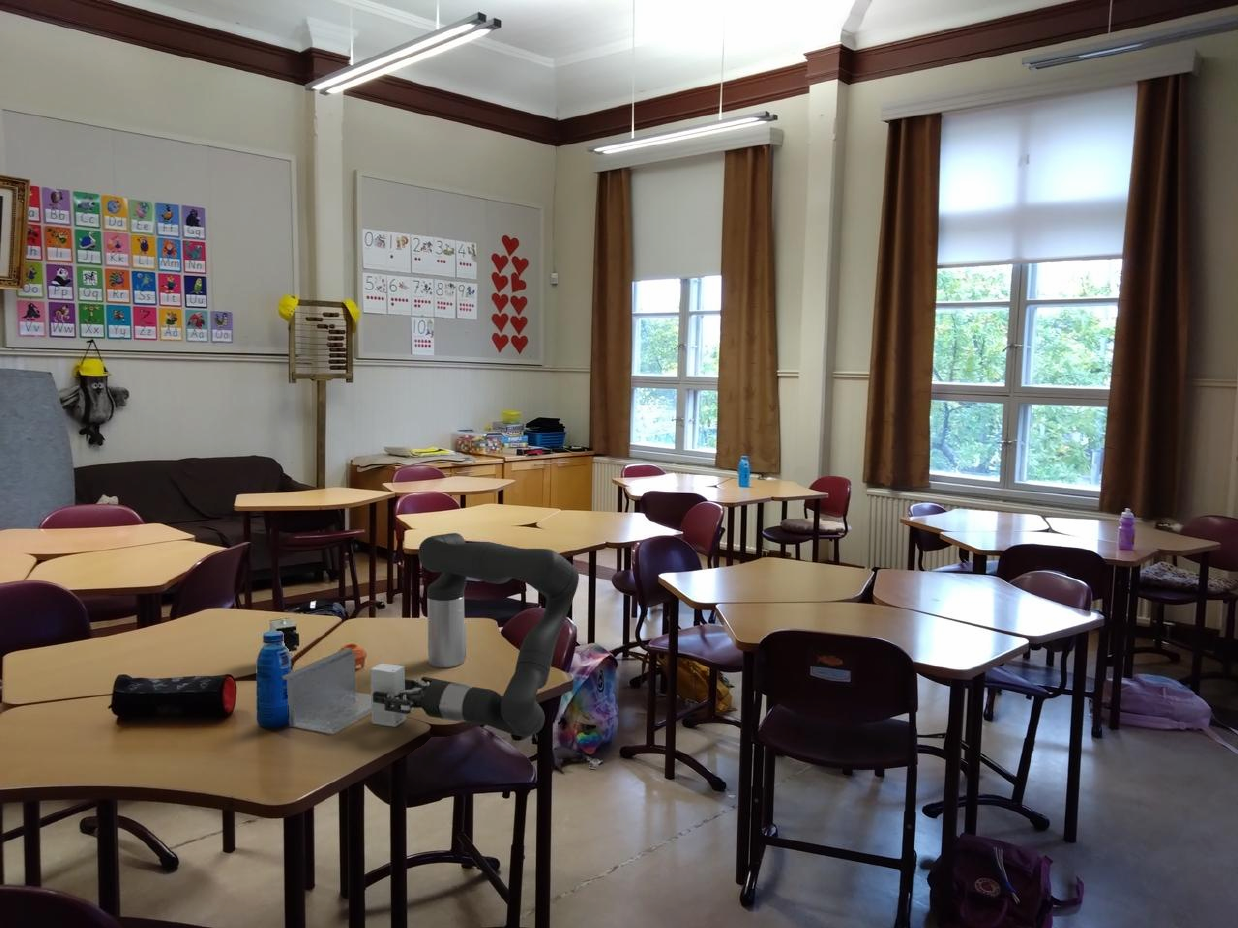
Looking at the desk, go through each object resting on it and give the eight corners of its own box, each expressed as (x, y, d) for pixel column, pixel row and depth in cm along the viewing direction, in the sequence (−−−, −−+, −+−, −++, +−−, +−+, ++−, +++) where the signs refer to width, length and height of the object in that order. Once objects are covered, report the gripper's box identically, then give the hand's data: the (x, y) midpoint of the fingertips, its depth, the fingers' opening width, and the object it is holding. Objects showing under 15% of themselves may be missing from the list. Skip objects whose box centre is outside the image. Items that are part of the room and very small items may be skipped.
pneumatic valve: (278, 673, 217) (277, 626, 216) (269, 660, 227) (268, 614, 226) (302, 669, 220) (300, 622, 219) (292, 656, 230) (291, 611, 229)
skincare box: (406, 720, 189) (405, 665, 188) (395, 727, 185) (394, 672, 184) (382, 716, 191) (381, 662, 190) (370, 723, 187) (369, 668, 186)
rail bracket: (346, 693, 204) (345, 648, 203) (391, 701, 200) (390, 655, 199) (283, 724, 186) (282, 676, 185) (332, 734, 181) (331, 684, 180)
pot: (364, 673, 217) (357, 647, 216) (334, 680, 217) (326, 654, 216) (374, 661, 225) (366, 636, 224) (344, 668, 225) (337, 643, 224)
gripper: (469, 672, 188) (406, 662, 194) (432, 695, 175) (364, 683, 181) (470, 706, 189) (406, 695, 195) (432, 731, 175) (365, 718, 181)
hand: (386, 689), depth 188 cm, fingers open, 8 cm apart
